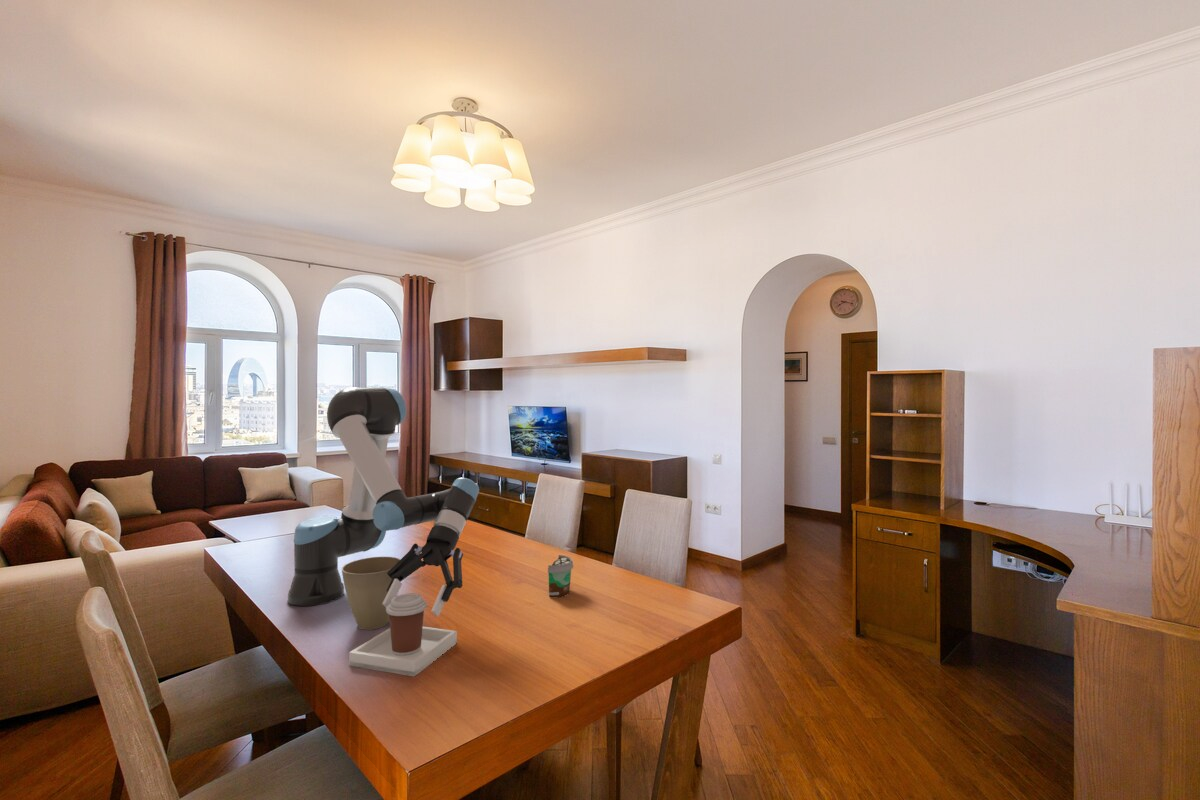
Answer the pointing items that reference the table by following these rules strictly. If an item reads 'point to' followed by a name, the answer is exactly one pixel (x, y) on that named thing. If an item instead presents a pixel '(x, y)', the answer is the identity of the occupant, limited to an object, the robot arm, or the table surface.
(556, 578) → the food container
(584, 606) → the table surface
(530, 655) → the table surface
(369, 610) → the plant pot
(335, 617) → the table surface
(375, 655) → the tray
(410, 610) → the coffee cup
